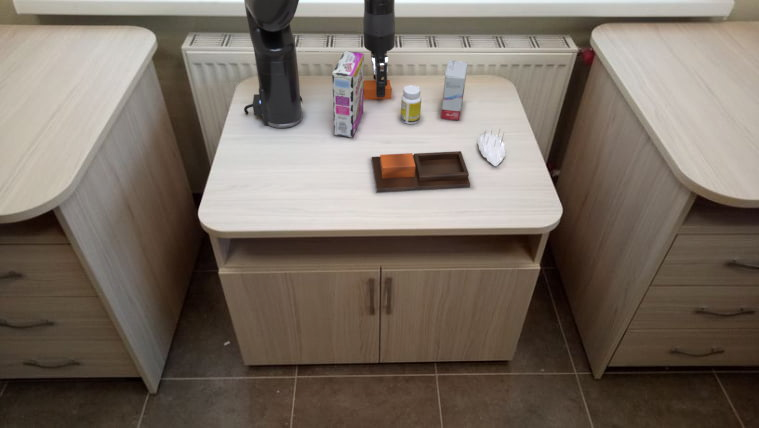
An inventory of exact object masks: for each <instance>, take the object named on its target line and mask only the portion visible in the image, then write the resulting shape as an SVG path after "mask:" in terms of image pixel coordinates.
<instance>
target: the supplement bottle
mask: <svg viewBox="0 0 759 428" xmlns="http://www.w3.org/2000/svg"><path fill="white" fill-rule="evenodd" d="M402 91H403V92H402V95H401V101H400V102H401V103H400V121H401V122H402V123H404V124H407V125H415V124H418V123H419V122H420V120H421V111H422V110H421V109H422V96H421V88H420V87H419V86H418V85H415V84H409V85H405V86H404V87H403V90H402Z"/></svg>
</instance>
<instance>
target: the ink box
mask: <svg viewBox="0 0 759 428" xmlns="http://www.w3.org/2000/svg"><path fill="white" fill-rule="evenodd" d="M467 72H468V61H460V60H455V59H448V60H447V63H446V69H445V72H444V84H443V92H442V100H441V101H442V102H441V108H440V109H441V110H440V111H441V112H440V119H441V120H443V119H444V120H449V121H450V120H451V121H460V120H461V115H462V114H461V113H462V107H463V102H464V101H463V100H464V93H465V86H466V80H467Z"/></svg>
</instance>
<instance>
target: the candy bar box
mask: <svg viewBox="0 0 759 428" xmlns="http://www.w3.org/2000/svg"><path fill="white" fill-rule="evenodd" d="M364 76H365V53H362V52H357V51H348V50H344V51H343V53H342V55H341V56H340V59H339V61H338V62H337V64H336V65H335V67H334V69H333V71H332V73H331V77H332V78H331V79H332V112H333V113H332V115H333V136H338V137H344V138H351V139H352V138H354V136H355V133H356V131H357V128H358V126H359V124H360V121H361V119H362V117H363V114H364V95H363V84H364V81H365V79H364V78H365V77H364Z"/></svg>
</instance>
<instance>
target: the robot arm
mask: <svg viewBox="0 0 759 428" xmlns="http://www.w3.org/2000/svg"><path fill="white" fill-rule="evenodd" d="M243 1H244V8H245V9H244V10H245V14H246V20H247V26H248V33H249V37H250V41H251V44H252V48H253V53H254V59H255V66H256V74H257V80H258V93H255V94H253V98H252V103H251V104H247V105H245V106H244V107H243V111H244V113H245V114H246V115H248V114H249V111H248V109H250V108H252V111H253V115H254V116H262V123H263V126H269V127H271V128H272V127H273V128H276V129H287V128H291V127H293V126H296V125H298V124H300V123H301V121H302V120H303V118H304V117H303V108H302V104H303V98H302V96H301V88H300V79H299V78H300V76H299V67H298V55H297V47H296V39H295V35H294V33H293V29H292V25H291V22H292V21H293V19H294V18H295V15H296V12H297V10H298V6H299V3H300V0H243ZM395 3H396V1H395V0H363V19H362V20H363V23H362V24H363V47H364V48H365V49H366V50H367V51H369V52H370V62H371V65H372V72H373V73H372V76H373V80H376V81H375V83H376V96H377V97H385V86H387V80H388V73H389V71H388V62H389V56H388V52H391V51H392V50H393V49H394V47H395V45H396V43H395V42H396V13H395V12H396V11H395V5H396V4H395Z"/></svg>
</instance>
